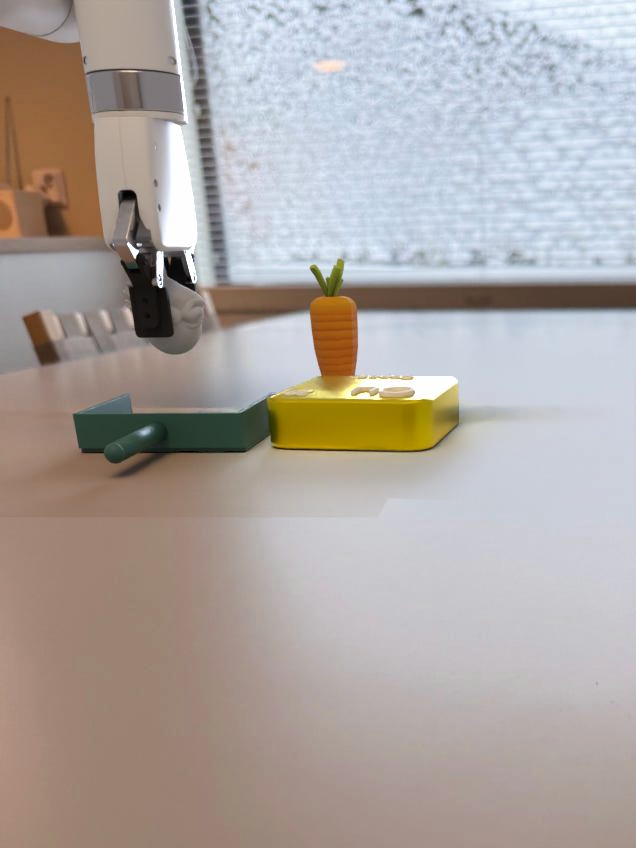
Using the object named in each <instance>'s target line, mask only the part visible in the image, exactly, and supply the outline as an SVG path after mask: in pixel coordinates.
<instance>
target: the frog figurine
mask: <svg viewBox="0 0 636 848" xmlns="http://www.w3.org/2000/svg"><path fill="white" fill-rule="evenodd" d="M162 287H168V292H169V299H170V307H171V314H172V321H173V328H174V335H173V336H172V337H165V338H147V340H148V342H149V343H150V344H151V345H152V347H154V348H155V349H156V350H158V351H160V352H162V353H164V354H167V355H172V356H173V355H174V356H178V355H183V354H186V353H188V352H190V351H191V350H193V349H194V348H195V347H196V346H197V345H198V343H199V341H200V339H201V337H202V331H203V326H202V325H203V322H204V317H205V316H204V315H205V311H204V309H205V308H206V307H207V306H208V302H207V301H206V299H204V298H203V296H201V295H200V294H199V293H198V292H197V293H196V292H194V291H193V290H191V289H189V288H187V287H185V286H182V285H181V284H179V283H178V282H176V281H174V280H173V279H170V278H169V277H168V276H167V275H166V274H165V273H163V285H162ZM121 292H122V293H123V294H124V295H125V296H126V297H127V298H125V299H124V301H125V306H126V307H127V308H128V309H129V312H130V313H132V307H131V301H130V294H129V288H128V287H127V286H126V287H125V288H124V289H122V291H121Z"/></svg>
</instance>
